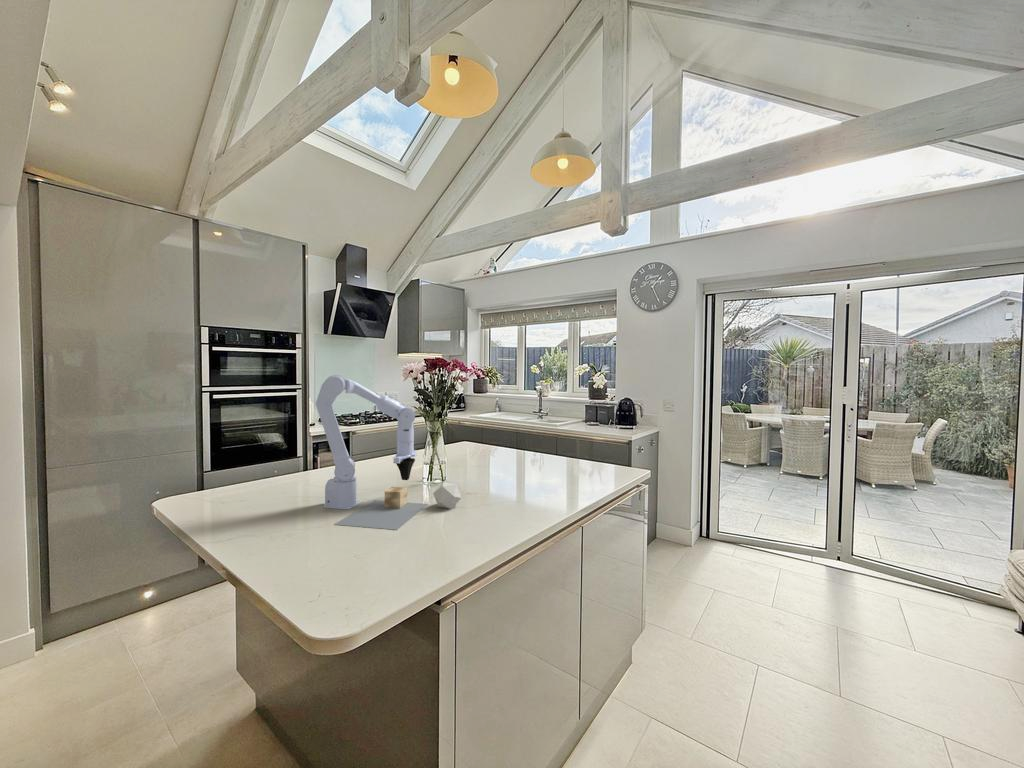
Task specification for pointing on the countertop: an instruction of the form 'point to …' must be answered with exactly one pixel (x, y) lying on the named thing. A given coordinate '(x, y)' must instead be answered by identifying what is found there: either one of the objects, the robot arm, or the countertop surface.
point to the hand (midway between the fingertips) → (405, 479)
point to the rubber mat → (381, 516)
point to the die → (447, 495)
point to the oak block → (395, 497)
